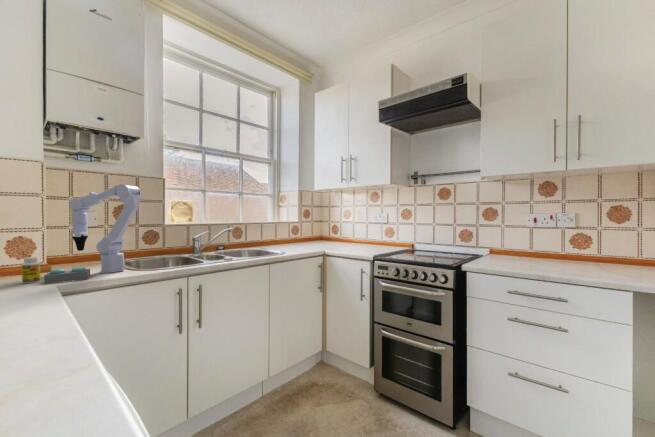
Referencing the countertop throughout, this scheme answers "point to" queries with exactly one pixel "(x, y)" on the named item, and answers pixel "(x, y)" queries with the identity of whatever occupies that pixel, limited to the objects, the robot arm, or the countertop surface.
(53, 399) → the countertop surface
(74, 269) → the knob
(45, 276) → the panel box
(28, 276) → the supplement bottle
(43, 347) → the countertop surface
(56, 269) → the knob
